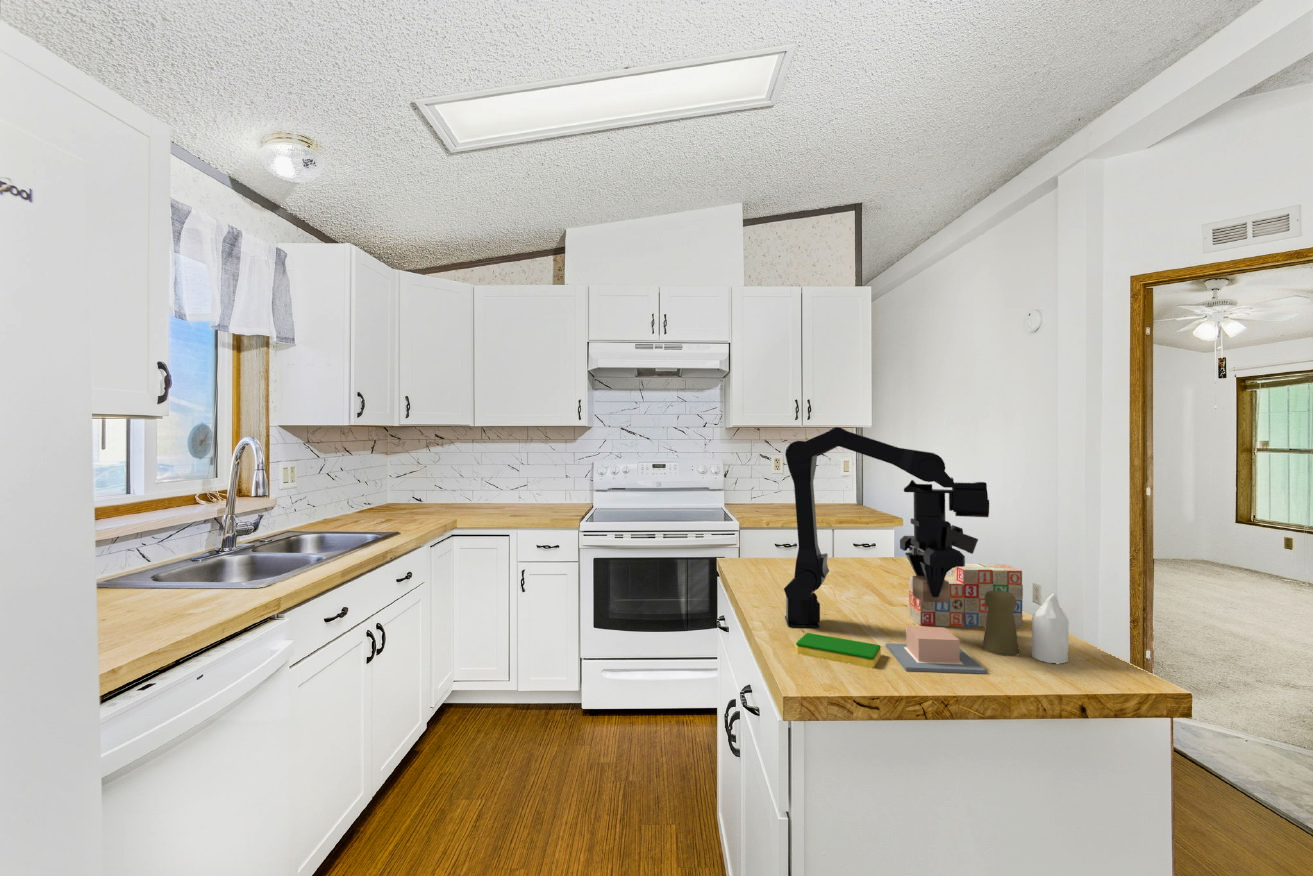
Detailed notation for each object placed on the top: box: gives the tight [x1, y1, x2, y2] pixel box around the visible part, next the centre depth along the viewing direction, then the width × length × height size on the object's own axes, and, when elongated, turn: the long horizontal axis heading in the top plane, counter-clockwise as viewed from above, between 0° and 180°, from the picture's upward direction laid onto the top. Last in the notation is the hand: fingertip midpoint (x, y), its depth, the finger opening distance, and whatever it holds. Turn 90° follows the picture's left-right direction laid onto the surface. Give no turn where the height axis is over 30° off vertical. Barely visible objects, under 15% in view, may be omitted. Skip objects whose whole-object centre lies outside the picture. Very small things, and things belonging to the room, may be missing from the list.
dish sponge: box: [795, 632, 882, 669], centre depth 106 cm, size 7×14×2 cm, turn 59°
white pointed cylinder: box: [1031, 592, 1070, 665], centre depth 104 cm, size 6×12×6 cm
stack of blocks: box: [908, 563, 1024, 628], centre depth 125 cm, size 21×6×12 cm, turn 87°
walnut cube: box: [912, 575, 949, 602], centre depth 114 cm, size 5×5×4 cm
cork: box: [982, 590, 1020, 657], centre depth 108 cm, size 6×6×11 cm
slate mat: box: [885, 642, 987, 675], centre depth 104 cm, size 13×12×1 cm
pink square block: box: [905, 626, 960, 663], centre depth 104 cm, size 7×7×4 cm
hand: (930, 593), depth 114 cm, fingers closed on walnut cube, 5 cm apart
